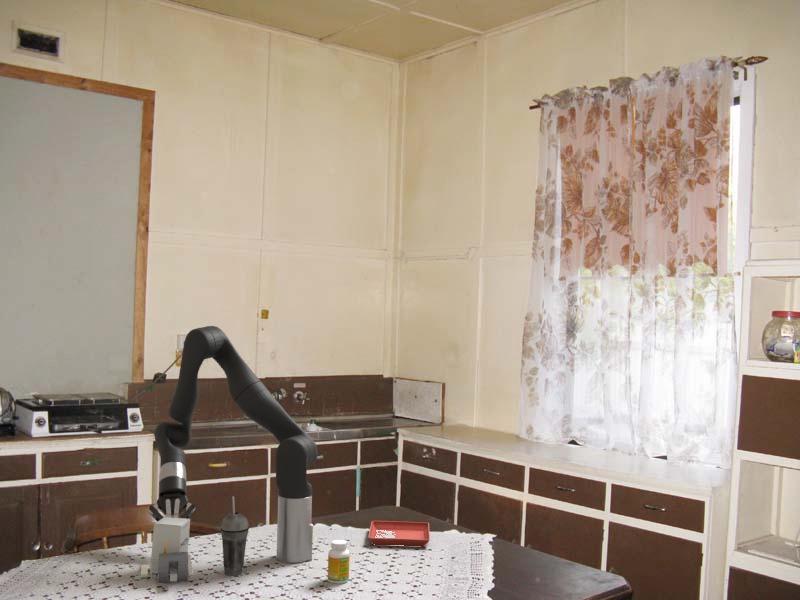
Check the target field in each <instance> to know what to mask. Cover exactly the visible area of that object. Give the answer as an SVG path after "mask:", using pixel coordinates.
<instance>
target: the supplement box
mask: <svg viewBox="0 0 800 600" xmlns="http://www.w3.org/2000/svg"><path fill="white" fill-rule="evenodd" d="M163 517H164V516H163ZM190 526H191V518H188V519H185V518H180V517H178V518H174V517H172V516H171V517H166V516H165V517H164V518H162V519H161V520H159V521H158V522H157V521H156V522H155V523H154V524H153V534H152V544H151V545H152V546H151V559H150V571H149V573H151V574H152V573H156V575H158V563H159V554H160V553H164V541H166V553H175V552H188V553H189V543H190V541H189V540H190Z"/></svg>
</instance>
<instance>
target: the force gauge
mask: <svg viewBox="0 0 800 600" xmlns="http://www.w3.org/2000/svg"><path fill="white" fill-rule="evenodd" d="M172 561H178V567H177V581H176V583H185V582H187V581H188V578H191V576H193V577H194V572H193V564H192V557H191V554H189V551H188V552H175V553H160V554H159V563H158V574H157V573H151V580H152V579H153V580H157V584H158V583H161V584H168V583H169V575H168V573H169V562H172ZM148 573H149V564H142V565H141V567H140V581H148V576H149V575H148Z"/></svg>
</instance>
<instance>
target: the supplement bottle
mask: <svg viewBox="0 0 800 600" xmlns="http://www.w3.org/2000/svg"><path fill="white" fill-rule="evenodd" d="M330 547H331V549H330V550H329V551H328V553H327V554H328V555H327V557H328V558H327V563H328V564H327V581H328V583H332V584H338V585H340V584H345V583H347V582H349V579H350V555H351V554H350V551H349V549H347V548H348V541H347V540H344V539H334V540H332V541H331V543H330Z"/></svg>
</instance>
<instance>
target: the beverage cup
mask: <svg viewBox="0 0 800 600" xmlns="http://www.w3.org/2000/svg"><path fill="white" fill-rule="evenodd" d="M235 505H236V504H235V496H234V495H233V496H232V512H230V513H228V514H227V515H226V516H224V518H223V520H222V522H221V526H220V534H221V540H222V541H221V542H222V543H221V544H222V559H223V561H222V563H223V571H224V576H226V577H231V576H233V577H238V576H242V575H243V570H244V563H245V555H246V546H247V545H246V544H247V537H248V534H249V530H250V526H249V521H248V518H247V517H246V515H244V514H243V513H241V512H239V511H236V508H235Z"/></svg>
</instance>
